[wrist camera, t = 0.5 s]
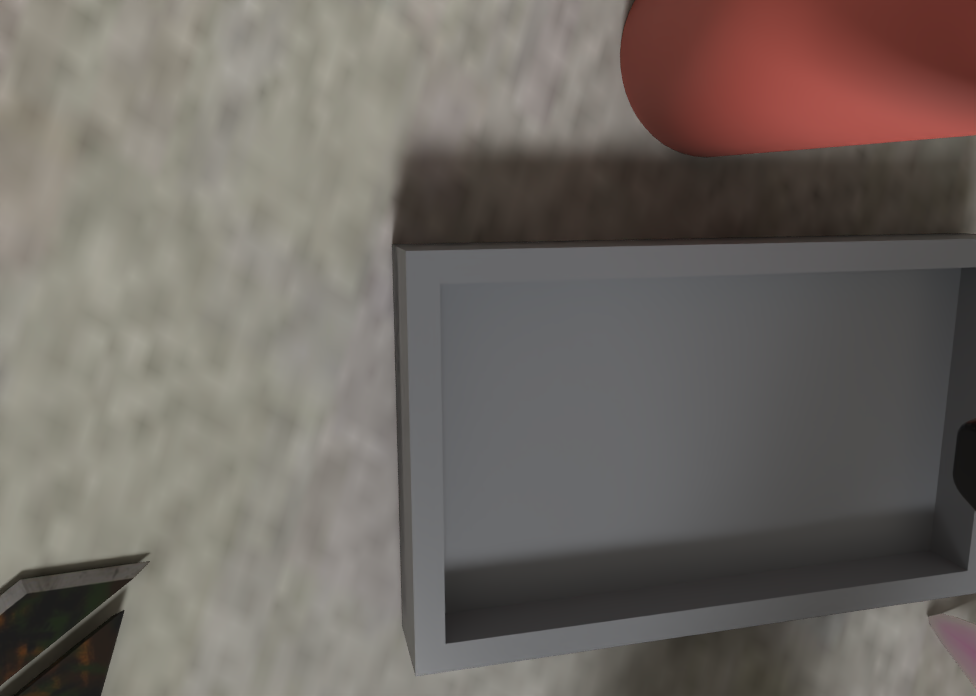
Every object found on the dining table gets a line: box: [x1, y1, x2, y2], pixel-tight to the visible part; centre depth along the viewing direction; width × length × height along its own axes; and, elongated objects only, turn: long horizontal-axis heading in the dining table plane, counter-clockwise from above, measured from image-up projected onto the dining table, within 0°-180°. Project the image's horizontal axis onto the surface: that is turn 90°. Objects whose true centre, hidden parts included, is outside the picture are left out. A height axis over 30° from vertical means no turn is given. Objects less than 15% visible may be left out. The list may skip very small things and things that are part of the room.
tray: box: [392, 233, 976, 676], centre depth 23 cm, size 11×18×2 cm, turn 90°
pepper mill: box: [620, 0, 976, 157], centre depth 16 cm, size 5×5×13 cm
